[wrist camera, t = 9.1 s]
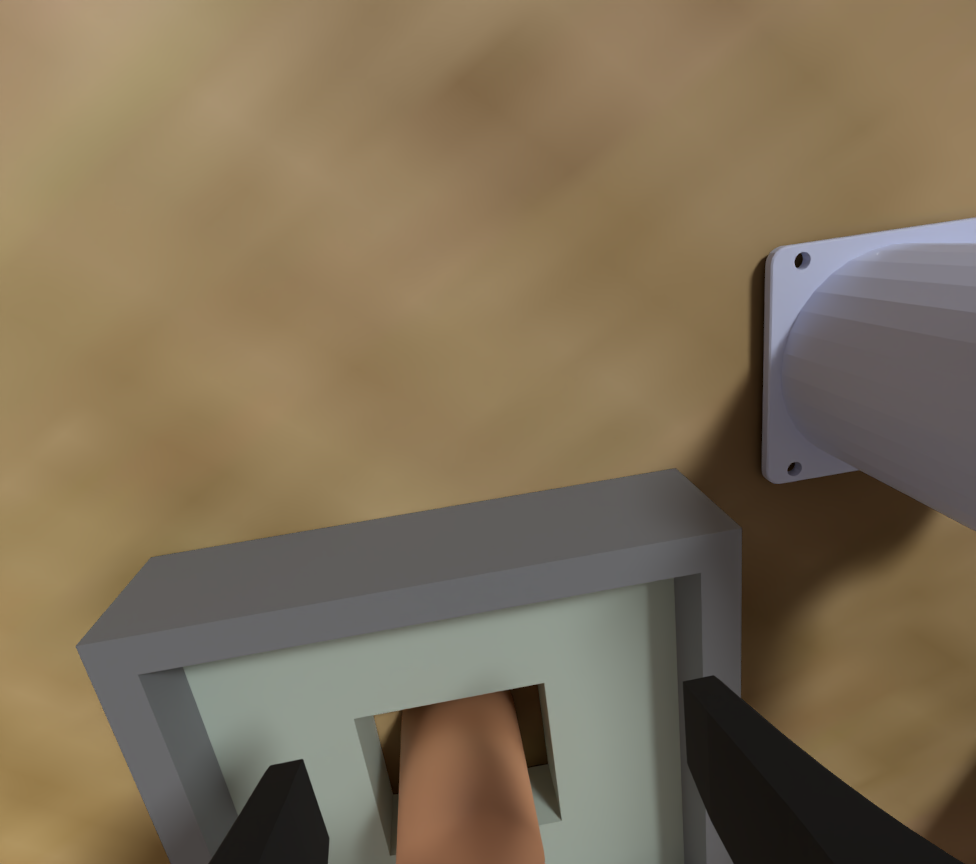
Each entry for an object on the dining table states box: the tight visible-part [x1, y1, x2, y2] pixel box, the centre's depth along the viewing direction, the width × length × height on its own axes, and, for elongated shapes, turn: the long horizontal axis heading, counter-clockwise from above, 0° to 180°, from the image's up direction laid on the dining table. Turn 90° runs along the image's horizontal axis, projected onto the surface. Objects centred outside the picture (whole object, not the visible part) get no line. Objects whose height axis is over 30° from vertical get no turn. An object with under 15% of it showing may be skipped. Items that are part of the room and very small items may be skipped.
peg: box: [396, 690, 545, 864], centre depth 20 cm, size 4×4×6 cm
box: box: [76, 468, 742, 864], centre depth 21 cm, size 18×18×4 cm
